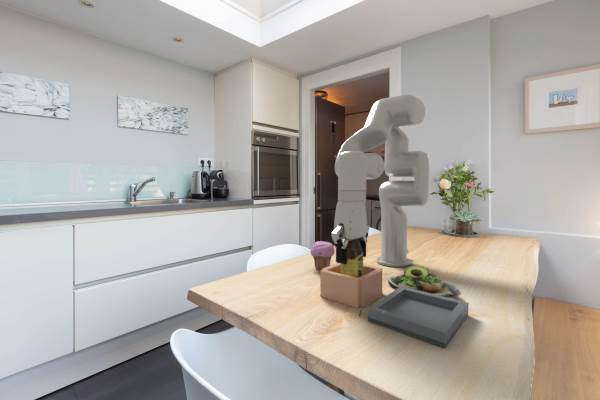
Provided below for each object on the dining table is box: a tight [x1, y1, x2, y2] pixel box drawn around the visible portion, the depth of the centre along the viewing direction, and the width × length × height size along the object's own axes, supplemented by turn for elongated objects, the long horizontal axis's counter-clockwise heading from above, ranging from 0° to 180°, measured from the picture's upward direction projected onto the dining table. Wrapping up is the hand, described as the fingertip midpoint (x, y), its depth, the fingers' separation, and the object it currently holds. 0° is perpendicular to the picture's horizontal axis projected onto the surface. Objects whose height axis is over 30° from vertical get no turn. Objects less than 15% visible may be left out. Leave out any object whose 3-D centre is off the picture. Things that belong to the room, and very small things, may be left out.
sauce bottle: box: [340, 238, 364, 278], centre depth 79 cm, size 7×6×20 cm
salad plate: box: [387, 265, 461, 297], centre depth 84 cm, size 19×18×5 cm
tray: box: [367, 286, 469, 349], centre depth 65 cm, size 18×16×3 cm
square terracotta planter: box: [319, 262, 383, 309], centre depth 79 cm, size 13×13×7 cm
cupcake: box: [310, 240, 336, 271], centre depth 103 cm, size 9×9×10 cm
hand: (351, 259), depth 79 cm, fingers open, 9 cm apart
